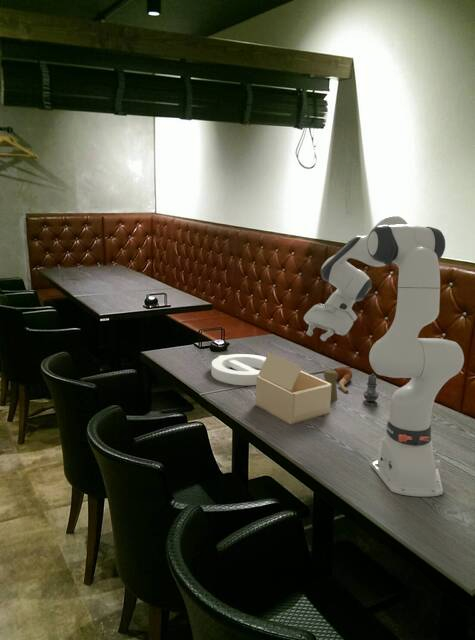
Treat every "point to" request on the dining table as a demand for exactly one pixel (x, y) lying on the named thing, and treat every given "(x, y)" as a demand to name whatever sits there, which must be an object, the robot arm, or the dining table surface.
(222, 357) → the ring with crossbar
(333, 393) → the cork
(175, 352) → the dining table surface
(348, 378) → the smoking pipe
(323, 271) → the robot arm
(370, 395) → the grey chess piece
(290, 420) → the carton
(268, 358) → the carton flap
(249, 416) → the dining table surface
